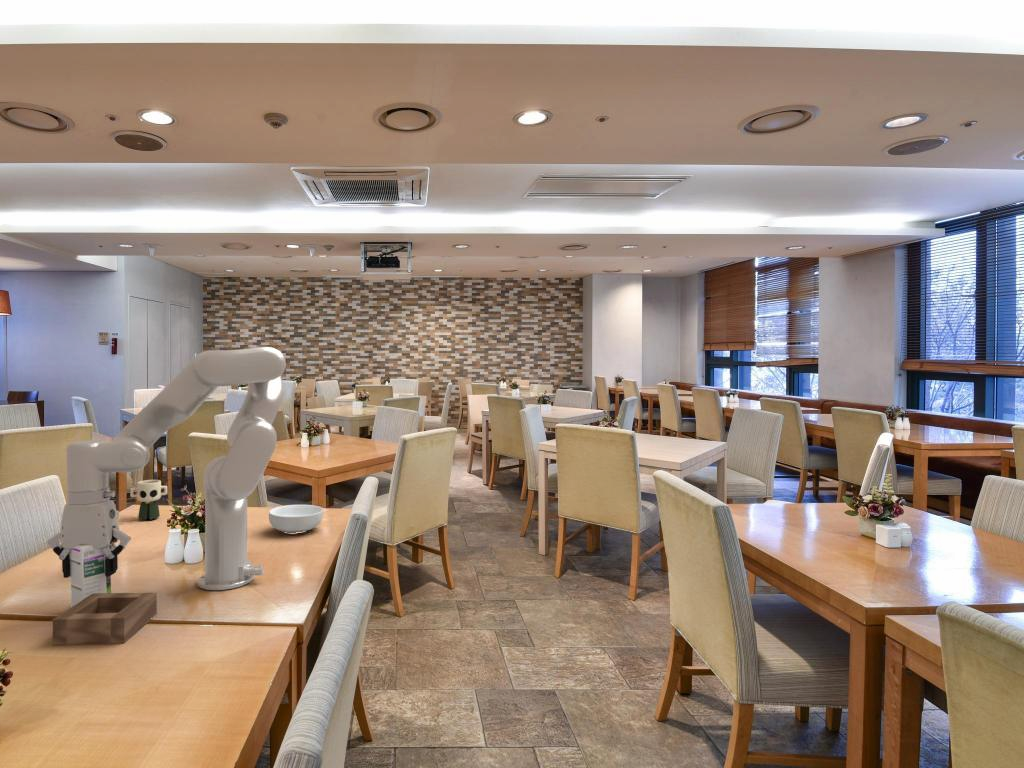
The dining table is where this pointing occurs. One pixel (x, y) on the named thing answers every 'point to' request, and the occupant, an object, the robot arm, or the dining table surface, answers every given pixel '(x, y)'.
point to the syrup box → (87, 573)
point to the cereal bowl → (295, 517)
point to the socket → (104, 618)
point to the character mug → (148, 498)
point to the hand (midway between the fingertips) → (90, 574)
